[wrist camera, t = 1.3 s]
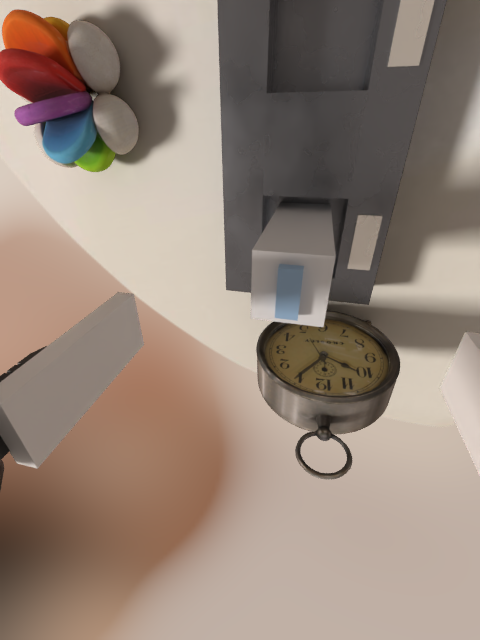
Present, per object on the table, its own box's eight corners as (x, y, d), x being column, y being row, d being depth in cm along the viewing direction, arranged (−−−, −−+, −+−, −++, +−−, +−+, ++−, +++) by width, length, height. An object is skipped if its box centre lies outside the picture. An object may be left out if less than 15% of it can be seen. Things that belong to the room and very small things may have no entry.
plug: (280, 202, 25) (249, 254, 14) (330, 204, 24) (336, 260, 14) (277, 249, 27) (248, 324, 17) (323, 252, 26) (323, 333, 16)
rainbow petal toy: (112, 7, 21) (30, -40, 15) (155, 160, 26) (105, 169, 20) (22, 42, 24) (-79, 13, 18) (76, 176, 29) (11, 188, 23)
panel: (232, -66, 18) (213, -107, 15) (454, -96, 16) (486, -152, 13) (236, 274, 30) (225, 290, 27) (363, 285, 27) (368, 305, 24)
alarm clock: (385, 308, 28) (441, 469, 15) (374, 354, 31) (412, 524, 18) (269, 299, 30) (226, 431, 17) (268, 342, 33) (231, 485, 20)
